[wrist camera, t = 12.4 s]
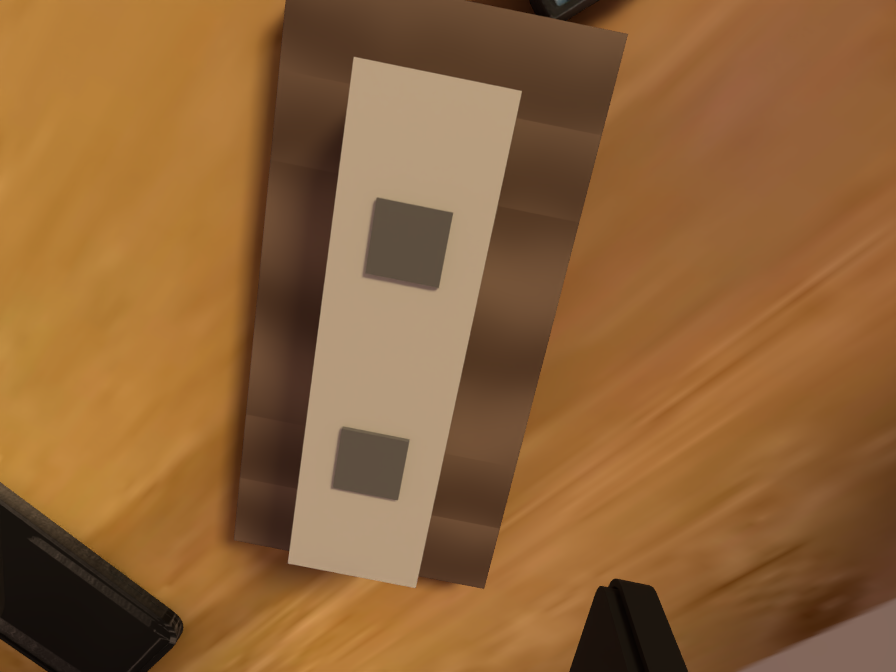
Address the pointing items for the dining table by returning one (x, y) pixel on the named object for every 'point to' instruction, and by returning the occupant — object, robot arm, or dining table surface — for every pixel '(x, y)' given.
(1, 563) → the robot arm
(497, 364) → the slot board
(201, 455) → the dining table surface
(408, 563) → the power strip
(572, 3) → the disk drive
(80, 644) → the phone
